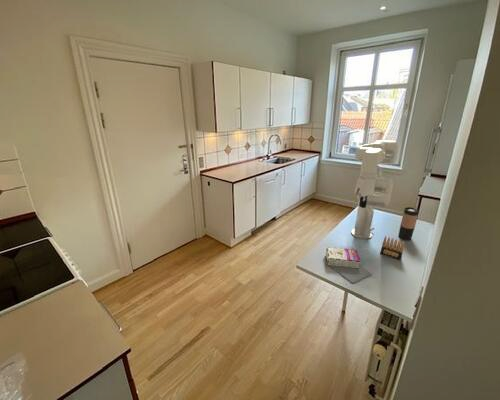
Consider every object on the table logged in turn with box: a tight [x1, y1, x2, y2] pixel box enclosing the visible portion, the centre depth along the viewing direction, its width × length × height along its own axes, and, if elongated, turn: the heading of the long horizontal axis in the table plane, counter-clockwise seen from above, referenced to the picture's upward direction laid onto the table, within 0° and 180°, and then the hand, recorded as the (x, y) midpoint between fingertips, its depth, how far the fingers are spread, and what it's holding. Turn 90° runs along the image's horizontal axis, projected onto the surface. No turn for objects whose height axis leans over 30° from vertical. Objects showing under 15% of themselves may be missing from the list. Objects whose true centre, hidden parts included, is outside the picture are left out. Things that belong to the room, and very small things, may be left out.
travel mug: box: [398, 207, 420, 241], centre depth 153 cm, size 8×8×20 cm
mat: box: [326, 262, 373, 285], centre depth 128 cm, size 14×18×1 cm
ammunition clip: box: [379, 235, 405, 261], centre depth 136 cm, size 11×2×12 cm, turn 51°
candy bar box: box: [325, 246, 361, 268], centre depth 133 cm, size 11×5×16 cm
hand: (362, 206), depth 132 cm, fingers closed
